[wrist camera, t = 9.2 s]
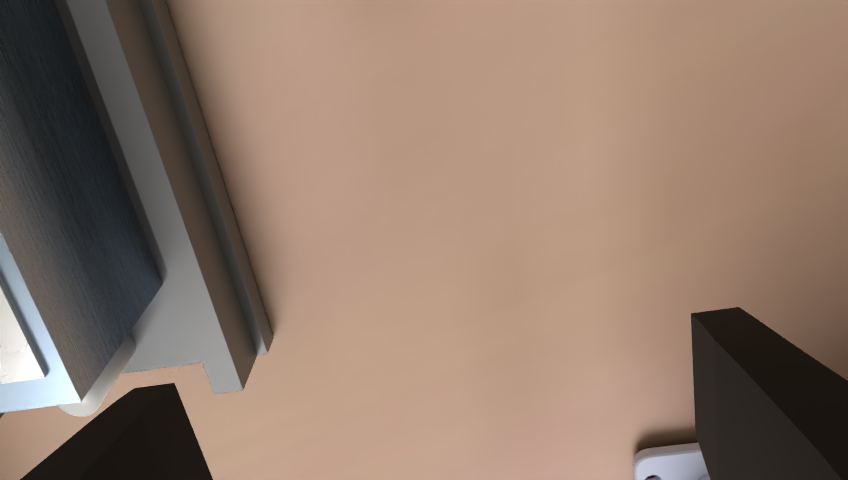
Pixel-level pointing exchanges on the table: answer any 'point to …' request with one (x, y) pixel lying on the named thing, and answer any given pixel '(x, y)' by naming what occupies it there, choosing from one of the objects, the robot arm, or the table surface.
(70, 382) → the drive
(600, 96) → the table surface
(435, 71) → the table surface
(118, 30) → the tray
